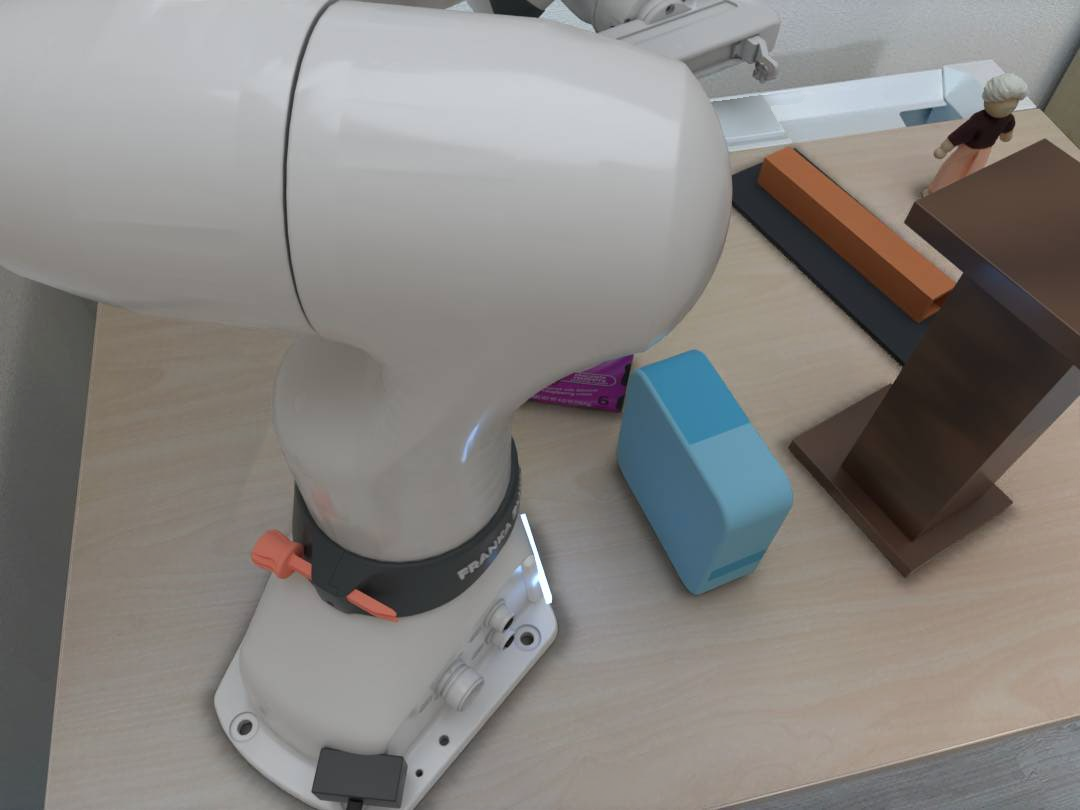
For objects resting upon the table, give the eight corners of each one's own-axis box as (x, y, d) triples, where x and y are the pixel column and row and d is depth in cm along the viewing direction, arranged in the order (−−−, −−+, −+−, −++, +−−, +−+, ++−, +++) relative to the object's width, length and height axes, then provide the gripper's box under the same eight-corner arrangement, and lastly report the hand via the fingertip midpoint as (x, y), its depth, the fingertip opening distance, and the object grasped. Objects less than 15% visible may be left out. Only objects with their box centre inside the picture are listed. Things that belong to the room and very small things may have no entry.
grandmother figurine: (934, 223, 76) (1000, 103, 66) (903, 198, 78) (964, 77, 67) (992, 195, 78) (1066, 74, 68) (962, 171, 80) (1029, 50, 70)
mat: (712, 186, 78) (713, 182, 78) (793, 151, 81) (795, 147, 81) (916, 380, 66) (919, 376, 66) (1003, 330, 69) (1006, 326, 69)
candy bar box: (479, 399, 64) (468, 244, 50) (490, 348, 67) (483, 189, 53) (624, 418, 63) (653, 267, 50) (630, 366, 66) (659, 209, 53)
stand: (787, 447, 62) (914, 200, 42) (885, 391, 65) (1045, 137, 45) (905, 578, 57) (1114, 363, 37) (1005, 510, 60) (1248, 278, 40)
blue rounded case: (751, 578, 56) (801, 494, 46) (693, 603, 55) (731, 522, 45) (667, 438, 62) (695, 337, 52) (613, 459, 61) (631, 359, 51)
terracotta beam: (756, 183, 78) (764, 156, 75) (780, 171, 79) (789, 145, 76) (917, 323, 69) (932, 299, 66) (942, 309, 70) (958, 284, 67)
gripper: (560, 16, 78) (646, 96, 72) (731, -41, 85) (824, 28, 78) (558, 76, 84) (638, 155, 77) (718, 18, 90) (805, 87, 83)
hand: (733, 90), depth 78 cm, fingers open, 8 cm apart
